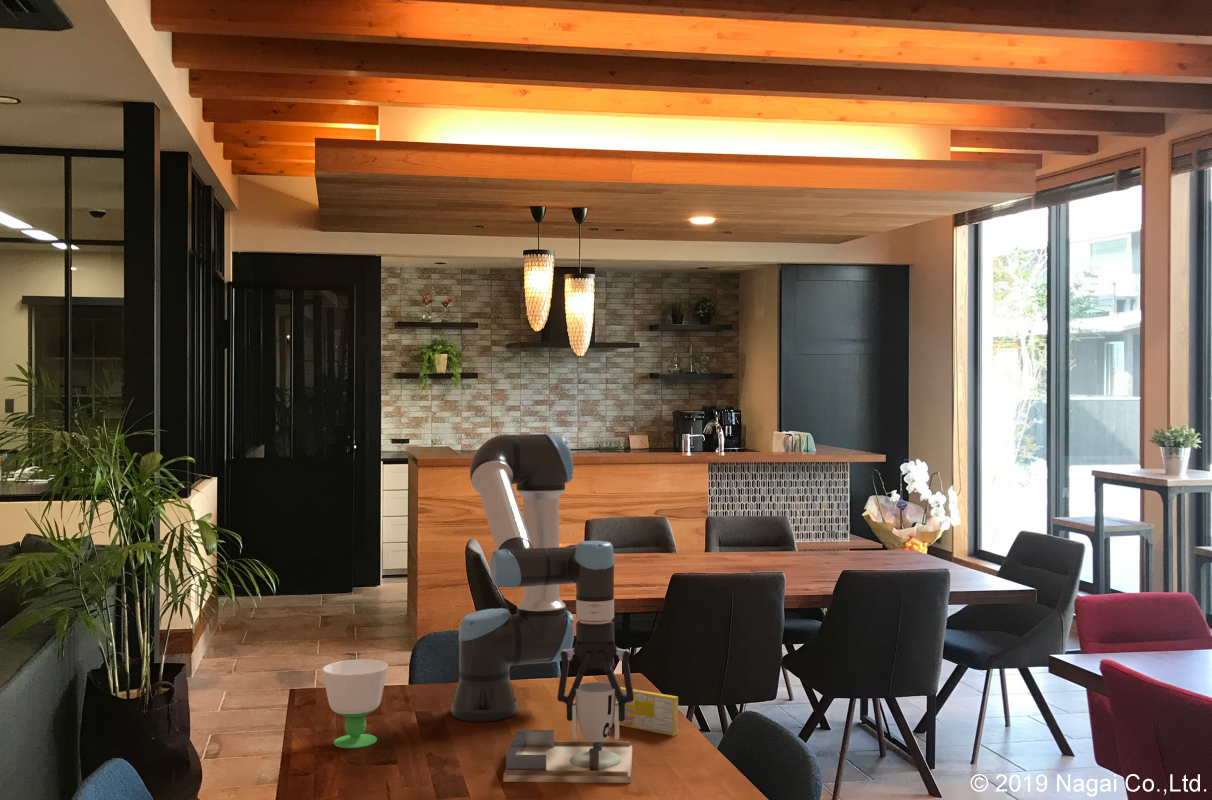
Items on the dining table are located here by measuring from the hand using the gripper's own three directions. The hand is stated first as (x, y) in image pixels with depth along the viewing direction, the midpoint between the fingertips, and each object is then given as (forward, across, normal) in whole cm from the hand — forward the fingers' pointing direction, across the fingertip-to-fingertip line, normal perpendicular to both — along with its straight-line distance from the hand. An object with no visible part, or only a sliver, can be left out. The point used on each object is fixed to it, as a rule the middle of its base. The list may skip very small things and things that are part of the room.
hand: (595, 736), depth 198 cm
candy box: (+6, +10, +24) cm, 27 cm away
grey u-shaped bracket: (+4, -13, 0) cm, 14 cm away
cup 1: (+6, -52, +14) cm, 54 cm away
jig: (+6, -5, 0) cm, 8 cm away
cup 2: (0, 0, 0) cm, 0 cm away
